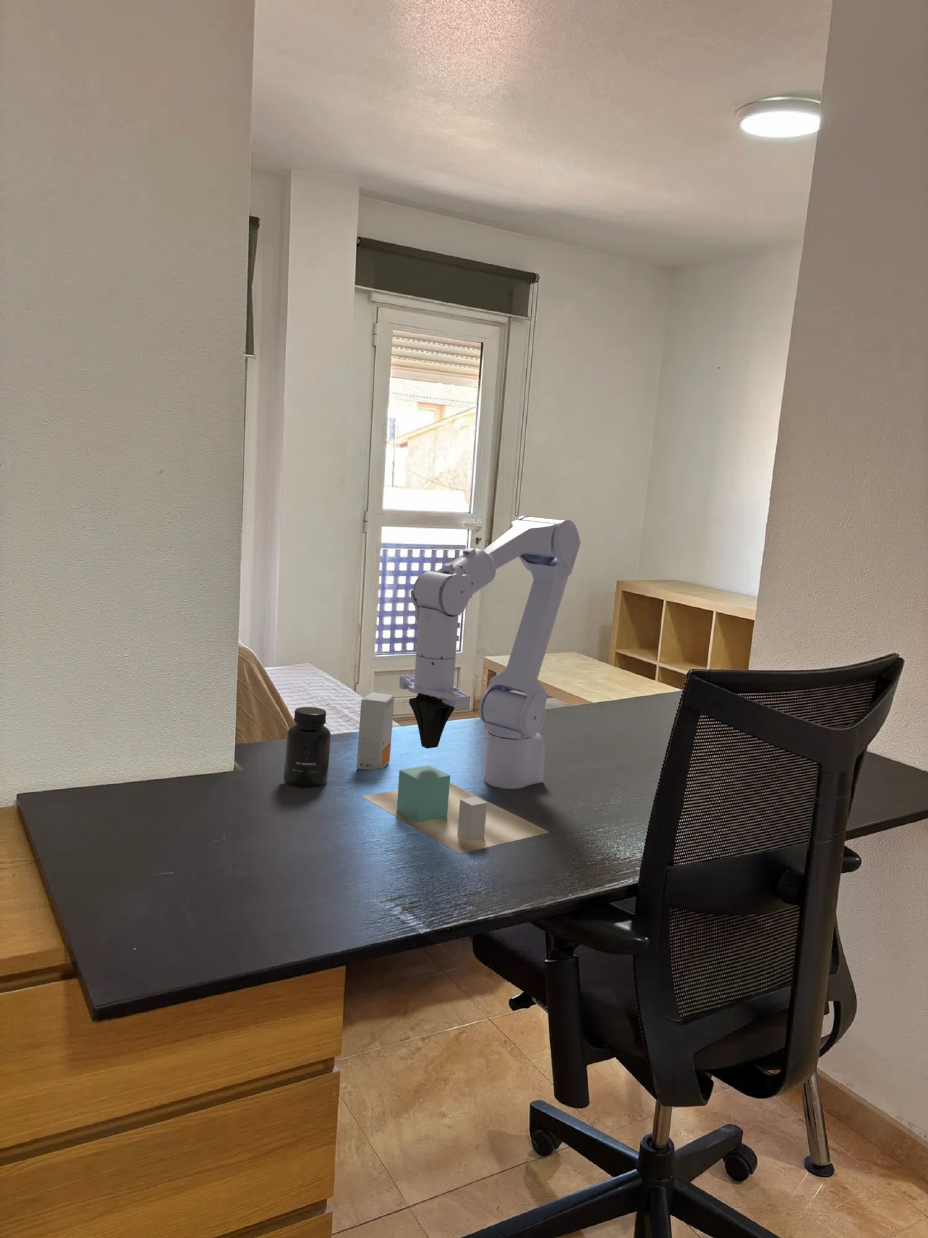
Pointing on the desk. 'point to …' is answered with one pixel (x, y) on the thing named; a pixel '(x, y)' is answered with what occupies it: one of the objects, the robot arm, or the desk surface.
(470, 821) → the grey post
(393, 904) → the desk surface
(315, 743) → the supplement bottle
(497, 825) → the board
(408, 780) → the teal green block
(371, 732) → the skincare box
